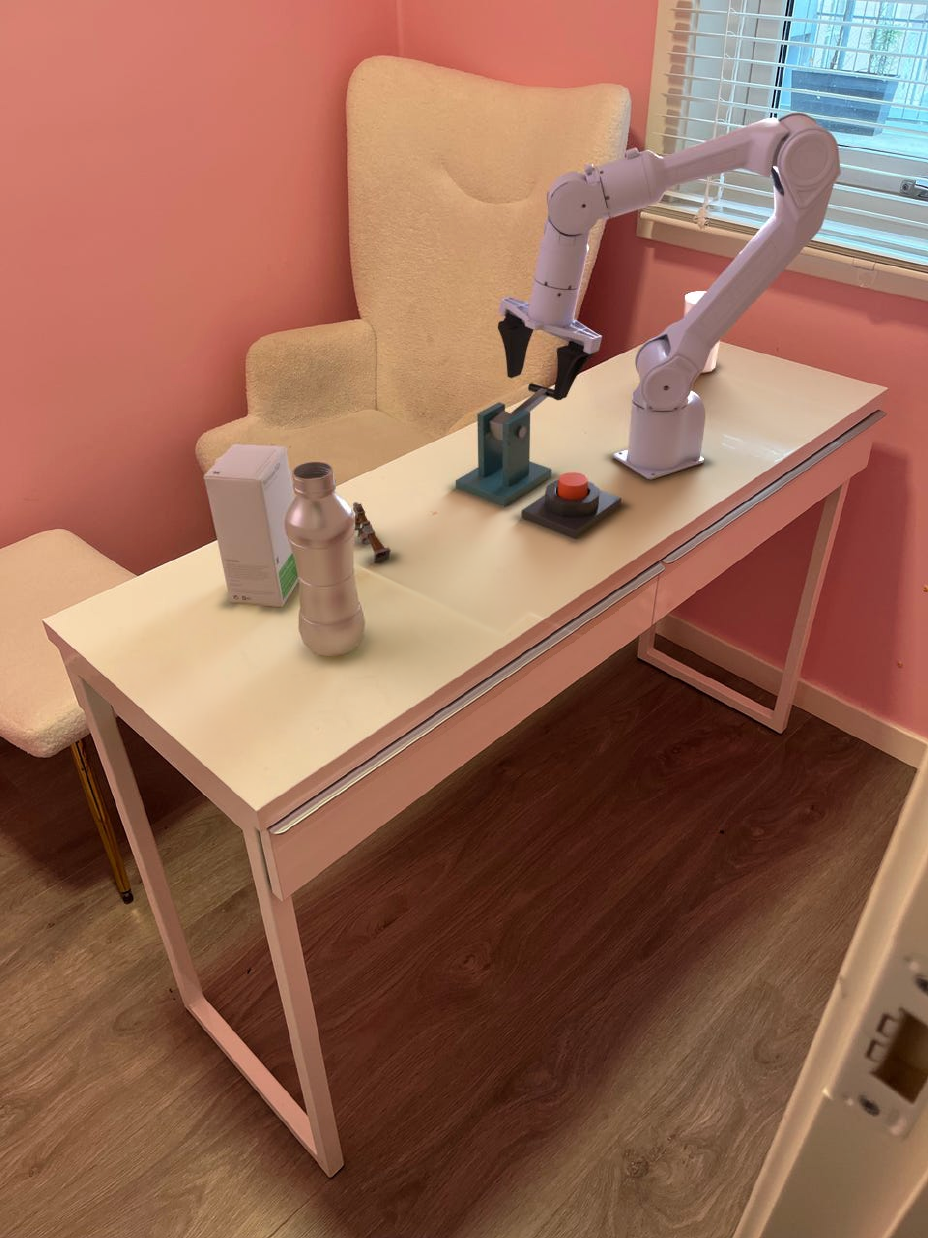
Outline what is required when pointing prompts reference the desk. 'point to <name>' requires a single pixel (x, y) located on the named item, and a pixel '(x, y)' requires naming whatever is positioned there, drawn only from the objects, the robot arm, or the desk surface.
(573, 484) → the button
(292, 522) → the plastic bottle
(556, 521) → the control block
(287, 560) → the cosmetic box
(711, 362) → the cup
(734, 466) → the desk surface
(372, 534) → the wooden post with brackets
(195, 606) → the desk surface
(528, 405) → the lever
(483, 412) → the bracket
